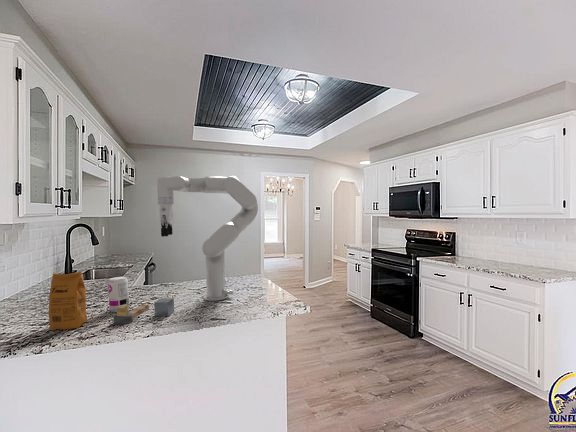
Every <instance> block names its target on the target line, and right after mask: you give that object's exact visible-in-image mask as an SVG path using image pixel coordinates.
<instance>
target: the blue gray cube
mask: <svg viewBox="0 0 576 432" xmlns="http://www.w3.org/2000/svg"><path fill="white" fill-rule="evenodd" d="M174 299H175V298H174V297H173V298H171V297H170V298H169V297H168V298H161V297H160V298H159V299H157V300H156V301H155V302H154V308H153V309H154V316H155V317H169V316H170V315H172V314H173V313H174V312H175V300H174Z"/></svg>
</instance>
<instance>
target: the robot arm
mask: <svg viewBox="0 0 576 432" xmlns="http://www.w3.org/2000/svg"><path fill="white" fill-rule="evenodd" d="M174 191H177V192H182V193H203V194H224V195H225V194H226V195H229V196H230V197H232V199H233V200H234V201H235V202H236V203H237V204H239V205H240V206H241V209H240V210H239V211H238V213H236V214H235V215H234V216H233V217H232V218H231V219H230V220H229V221H227V222H226V223H224V224H222V225H221V226H220V227H219V228H218V229H217V230H216V231H215V232H213V233H212V234H211V235H210V236H209V237H208V238H207V239H205V240H204V242H203V243H202V248H201V249H202V252H203V253H202V254H203V255H204V256H205V279H206V282H205V283H206V294H204V295H203V299H204V300H205V301H209V302H217V301H222V300H225V299H228V298H229V296H230V295H234V294H235V293H234V292H235V291H234V290H233V289H228V287H226V271H225V269H226V268H225V267H226V263H225V250H226V249H227V248H229V247H230V245H232V244H233V243H234V242H235V241H236V240H237V238H239V235H240V234H242V232H244V231H245V230H246V228H248V227H249V226H250V225H251V224H252V223H253V221H255V219H256V217H257V214H258V210H259V204H258V200H257V196H256V195H255V194H254V193H253V192H252V191H251V190H250V189H249V188H248V186H246V185H244V183H242V181H240V179H239V178H238V177H237V176H235V175H229V176H210V175H209V176H205V177H202V178H201V177H198V178H197V177H196V178H192V177H184V176H181V175H177V176H160V177H157V179H156V194H157V195H156V196H157V197H156V198H157V205H159V223H160V231H161V232H160V236H161V237H162V238H163V237H169V236H171V235H173V224H174V222H175V217H174V208H173V205H174V201H175V199H174Z"/></svg>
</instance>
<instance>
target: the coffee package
mask: <svg viewBox="0 0 576 432" xmlns="http://www.w3.org/2000/svg"><path fill="white" fill-rule="evenodd" d="M85 286H86V285H85V281H84V279H83V273H82V272H81V271H77V272H71V273H67V274H66V273H63V274H62V273H55V272H54V273H53V274H52V279H51V282H50V289H49V295H48V323H49V331H50V330H52V331H57V330H61V331H66V330H65V329H68V330H73V328H74V329H78V328H80V327H81V326H82V325H83V324H84V323H86V322H87V321H88V317H87V309H86V306H87V302H86V301H87V298H86V294H87V293H86V291H87V289H86V287H85ZM56 329H57V330H56ZM62 329H63V330H62Z"/></svg>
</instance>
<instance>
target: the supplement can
mask: <svg viewBox="0 0 576 432" xmlns="http://www.w3.org/2000/svg"><path fill="white" fill-rule="evenodd" d="M107 286H108V288H107V289H108V305H109V306H108V307H109V308H108V309H109V311H110V312H111V313H117V307H119V306H121V305H128V309H129V308H130V296H129V280H128V278H127V276H115V277H112V278H109V280H108V282H107Z"/></svg>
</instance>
